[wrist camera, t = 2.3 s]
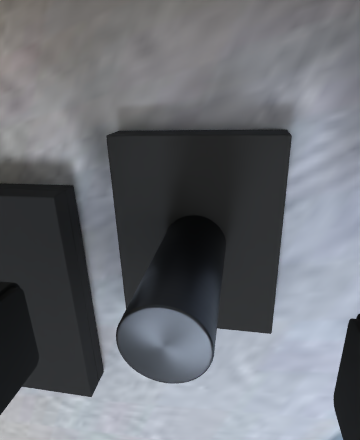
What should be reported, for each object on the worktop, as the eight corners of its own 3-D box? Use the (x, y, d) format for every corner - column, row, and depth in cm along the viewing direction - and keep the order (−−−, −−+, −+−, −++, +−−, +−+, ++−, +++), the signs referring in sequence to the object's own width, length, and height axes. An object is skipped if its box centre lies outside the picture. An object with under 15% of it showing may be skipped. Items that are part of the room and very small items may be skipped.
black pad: (118, 130, 14) (0, 173, 7) (287, 129, 13) (337, 180, 6) (135, 302, 17) (66, 440, 11) (269, 314, 16) (287, 479, 9)
